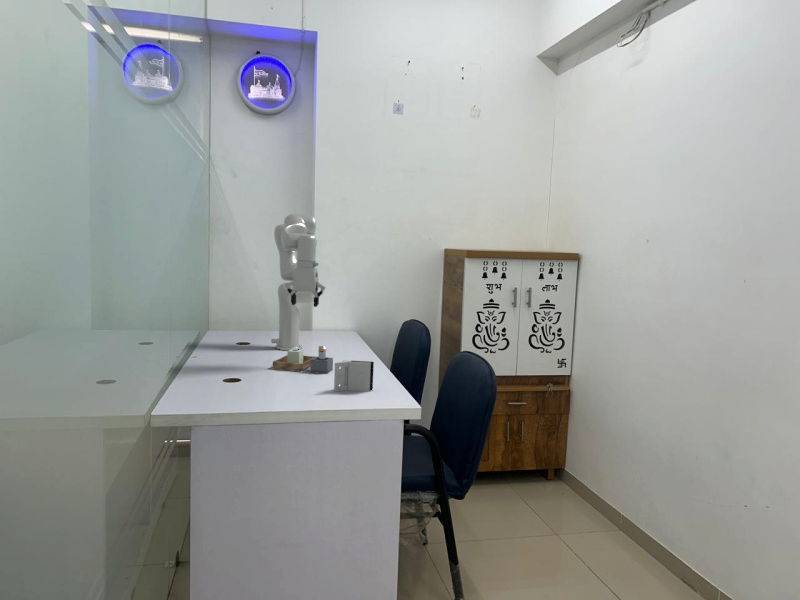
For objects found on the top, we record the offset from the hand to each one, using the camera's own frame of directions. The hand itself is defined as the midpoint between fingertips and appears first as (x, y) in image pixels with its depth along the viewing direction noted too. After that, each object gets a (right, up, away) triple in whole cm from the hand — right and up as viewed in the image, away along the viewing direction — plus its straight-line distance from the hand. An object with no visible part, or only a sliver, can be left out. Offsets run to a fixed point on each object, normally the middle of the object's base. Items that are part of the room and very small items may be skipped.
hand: (304, 305), depth 237 cm
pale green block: (-3, -25, -3) cm, 25 cm away
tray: (-3, -25, -3) cm, 25 cm away
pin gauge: (+8, -26, -10) cm, 29 cm away
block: (+8, -26, -10) cm, 29 cm away
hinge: (+23, -30, -37) cm, 53 cm away
